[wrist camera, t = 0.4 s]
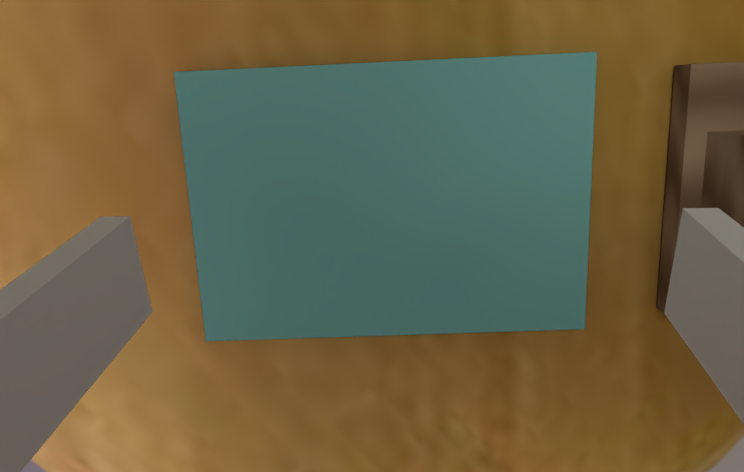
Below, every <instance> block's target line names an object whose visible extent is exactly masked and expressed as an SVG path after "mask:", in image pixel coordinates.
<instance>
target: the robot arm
mask: <svg viewBox="0 0 744 472" xmlns="http://www.w3.org/2000/svg"><path fill="white" fill-rule="evenodd" d="M151 313H152V308H151V304H150V300H149V295H148V291H147V287H146V282H145V278H144V274H143V269H142V265H141V261H140V256H139V252H138V248H137V244H136V239H135V235H134V231H133V226H132V222H131V218H130V216H109V217H100V218H98V219H97V220H96V221H94V222H93V223H91V224H90V225H89V226H87V227H86V228H85V229H83V230H82V231H80V232H79V233H78V234H76V235H75V236H74V237H72V238H71V239H70V240H68V241H67V242H65V243H64V244H63V245H61V246H60V247H59V248H57V249H56V250H54V251H53V252H52V253H50V254H49V255H48V256H46V257H45V258H43V259H42V260H41V261H39V262H38V263H37V264H35V265H34V266H32V267H31V268H30V269H28V270H27V271H26V272H24V273H23V274H21V275H20V276H19V277H17V278H16V279H15V280H13V281H12V282H11V283H9V284H8V285H6V286H5V287H4V288H2V289H1V290H0V472H21V471H22V469H23V468H24V467H25V466H26V465H27V463H28V462H29V461H30V460H31V459H32V457H33V456H34V455H35V454H36V452H37V451H38V450H39V449H40V448H41V446H42V445H43V444H44V443H45V442H46V440H47V439H48V438H49V437H50V435H51V434H52V433H53V432H54V431H55V429H56V428H57V427H58V426H59V425H60V423H61V422H62V421H63V420H64V418H65V417H66V416H67V415H68V414H69V412H70V411H71V410H72V409H73V408H74V406H75V405H76V404H77V403H78V401H79V400H80V399H81V398H82V397H83V395H84V394H85V393H86V392H87V391H88V389H89V388H90V387H91V386H92V384H93V383H94V382H95V381H96V380H97V378H98V377H99V376H100V375H101V374H102V372H103V371H104V370H105V369H106V367H107V366H108V365H109V364H110V363H111V361H112V360H113V359H114V358H115V357H116V355H117V354H118V353H119V352H120V350H121V349H122V348H123V347H124V346H125V344H126V343H127V342H128V341H129V340H130V338H131V337H132V336H133V335H134V334H135V332H136V331H137V330H138V329H139V327H140V326H141V325H142V324H143V323H144V321H145V320H146V319H147V318H148V317H149V315H150V314H151ZM664 314H665V315H666V316H667V318H668V319H669V321H670V322H671V323H672V325H673V326H674V328H675V329H676V330H677V332H678V333H679V335H680V336H681V337H682V339H683V340H684V342H685V343H686V344H687V346H688V347H689V349H690V350H691V351H692V353H693V354H694V356H695V357H696V358H697V360H698V361H699V363H700V364H701V365H702V367H703V368H704V370H705V371H706V372H707V374H708V375H709V377H710V378H711V379H712V381H713V382H714V384H715V385H716V386H717V388H718V389H719V391H720V392H721V393H722V395H723V396H724V398H725V399H726V400H727V402H728V403H729V405H730V406H731V407H732V409H733V410H734V412H735V413H736V414H737V416H738V417H739V419H740V420H741V421H742V423H743V424H744V227H742V226H741V225H740V224H738V223H737V222H736V221H735V220H733V219H732V218H731V217H729V216H728V215H727V214H726V213H724V212H723V211H722V210H720V209H719V208H683V210H682V215H681V221H680V227H679V232H678V238H677V244H676V249H675V255H674V260H673V266H672V272H671V277H670V283H669V289H668V294H667V300H666V305H665V311H664Z"/></svg>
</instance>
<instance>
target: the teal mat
mask: <svg viewBox="0 0 744 472" xmlns="http://www.w3.org/2000/svg"><path fill="white" fill-rule="evenodd" d="M596 64H597V52H584V53H563V54H542V55H521V56H500V57H479V58H457V59H436V60H415V61H394V62H373V63H352V64H331V65H310V66H289V67H267V68H246V69H225V70H204V71H183V72H174V78H175V87H176V95H177V104H178V112H179V120H180V129H181V137H182V146H183V154H184V162H185V171H186V179H187V188H188V196H189V204H190V213H191V221H192V230H193V238H194V246H195V255H196V263H197V272H198V280H199V288H200V297H201V305H202V314H203V322H204V330H205V339H206V341H231V340H262V339H293V338H324V337H355V336H386V335H417V334H448V333H479V332H510V331H541V330H573V329H585V314H586V291H587V268H588V246H589V223H590V200H591V178H592V155H593V132H594V109H595V87H596Z"/></svg>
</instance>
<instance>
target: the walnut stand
mask: <svg viewBox="0 0 744 472" xmlns="http://www.w3.org/2000/svg"><path fill="white" fill-rule="evenodd" d="M683 208H719V209H720V210H722V211H723V212H724V213H726V214H727V215H728V216H729V217H731V218H732V219H733V220H735V221H736V222H737V223H738V224H740V225H741V226H742V227H744V62H725V63H704V64H687V65H678V66H675V70H674V83H673V97H672V110H671V124H670V137H669V151H668V164H667V178H666V191H665V205H664V218H663V231H662V245H661V258H660V272H659V285H658V299H657V308H658V309H660V310H661V311H662V312H663V313H664V311H665V305H666V300H667V294H668V289H669V283H670V277H671V272H672V266H673V260H674V255H675V249H676V244H677V238H678V232H679V227H680V221H681V215H682V210H683Z"/></svg>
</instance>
